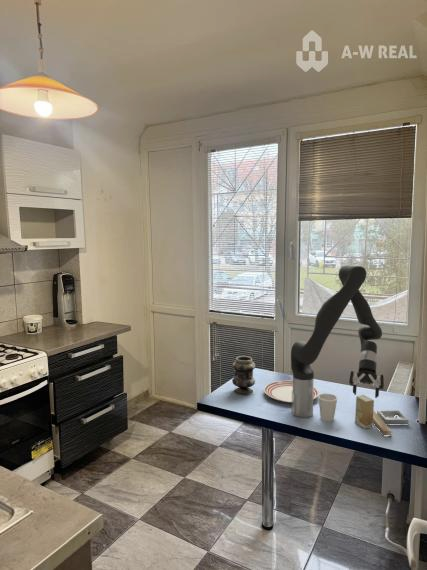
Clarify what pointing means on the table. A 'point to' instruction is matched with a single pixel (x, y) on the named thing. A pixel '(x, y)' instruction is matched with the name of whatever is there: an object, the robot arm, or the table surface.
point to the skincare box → (364, 411)
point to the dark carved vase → (243, 375)
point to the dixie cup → (327, 406)
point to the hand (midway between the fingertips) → (365, 395)
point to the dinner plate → (283, 391)
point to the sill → (380, 424)
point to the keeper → (392, 417)
